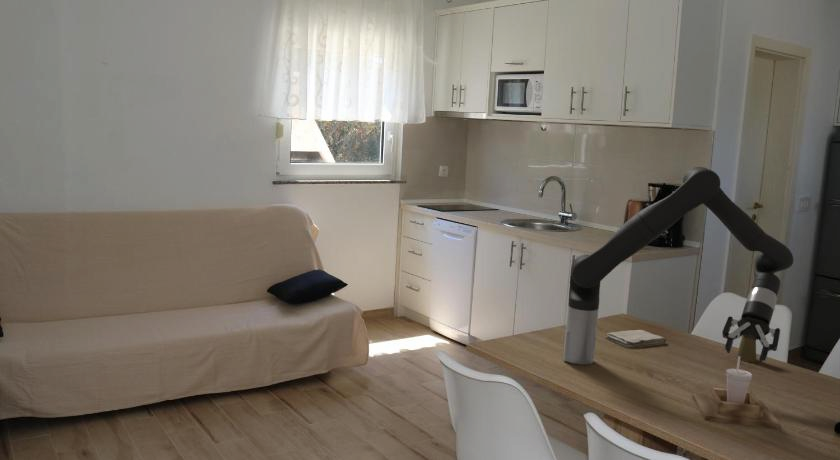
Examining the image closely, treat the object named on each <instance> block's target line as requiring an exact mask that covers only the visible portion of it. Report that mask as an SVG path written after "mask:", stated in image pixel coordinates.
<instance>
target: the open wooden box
mask: <svg viewBox="0 0 840 460" xmlns="http://www.w3.org/2000/svg"><path fill="white" fill-rule="evenodd" d="M691 396H692V400H693V401H694V403H695V405H696V407H697V408H698V410H699V412H700V414H701V416H702V418H703V419H704V421H709V422H717V423H718V422H719V423H726V424H734V425H735V424H736V425H742V426H743V425H744V426H752V427H753V426H754V427H761V428H771V429H777V430H778V429H780V427H781V424H780V422H779V421H778V419H776V417H775V416H774V415H773V413H772V412H771V411H770V409H769V408H768V407H767V406H766V405H765V403H764V402H763V401H762V400H759V399H758V397H756V395H755V394H754V393H753V392H752V391H748V390H747V393H746V397H745V401H744V404H740V403H731V402H727V388H720V387H719V388H718V387H708V394H704V393H695V392H692V395H691Z"/></svg>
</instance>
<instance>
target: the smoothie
mask: <svg viewBox="0 0 840 460" xmlns="http://www.w3.org/2000/svg"><path fill="white" fill-rule="evenodd" d="M740 363H741V360H740V356H738V359H737V363H736V368H728V369H726V370H725V375H726V389H727V402H731V403H740V404H744V401H745V397H746V393H747V391H748V389H749V386H750V383H751V380H752V379H753V374H752V373H751V372H750V371H747V370H744V369H740Z"/></svg>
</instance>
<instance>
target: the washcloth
mask: <svg viewBox="0 0 840 460" xmlns="http://www.w3.org/2000/svg"><path fill="white" fill-rule="evenodd" d="M606 336H607V337H605V339H606V338H607V339H606V340H608V341H610V342H612V343H614V344H617V345H619V346H621V347H624V348H626V349H627V348H629V349H630V348H631V349H633V348H640V347H641V348H642V347H643V348H644V347H650V346H658V345H665V344H666V343H667V339H666V338H665V337H663V336H661V335H658V334H653V333H651V332H648V331H646V330H643V329H636V330H635V329H634V330H633V329H630V330H621V331H613V332H612V331H611V332H607V333H606Z"/></svg>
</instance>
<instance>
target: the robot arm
mask: <svg viewBox="0 0 840 460" xmlns="http://www.w3.org/2000/svg"><path fill="white" fill-rule="evenodd" d="M702 204H703V205H704V206H705V207H706V208H707V209H708V210H709V211H711V212H712V214H714V215H715V217H717V219H718V220H719V221H720V222H721V223H722V224H723V225H724V227H725V228H726V229H727V230H728V231H729V232H730V233H731V235H732V236H733V237H735V239H736V240H737V241H738V242H739V243H740V244H741V245H742V246H743V247H744V248H745V249H746V250H747V251H748V252H749V251H750V252H759V253H758V254H757V255H756V257H755V258H754V261H753V277H754V279H753V283H752V285H751V288H750V291H749V293H748V295H747V298H746V300H745V303H744V307H743V310H742V314H741V316H740V318H739V319H735V318H733V316H732V315H731V316H728V317H727V320H726V322H725V324H724V327H723V329H722V330H721V331H722V338H723V339H726V343H725V344H724V345H725V347H724V348H725V351H726V353H728V354H730V353H731V350H732V347H733V343H734V341H735V340H737V339H740V338H742V336H744V337H745V338H751V339H753V340H756V341H758V340H759V343H760V344H761V346H762V349H761V351H760V356H759V361H758V362H761V363H762V362H765V361H766V360H767V357H768V353H769V351H773V352H776V351H777V350H778V345H779V341H780V336H781V329H780V328H779V327H776V328H770V325H771V321H772V318H773V315H774V311H776V309H775V307H776V305H777V298H778V295H779V290H780V287H781V280H780V278H779V276H777V275H776V273H778V272H780V271H785V270H788V269H790V268H791V267H792V266H793V264H794V256H793V253H792V252H791V250H790V249H789V248H788V247H787V246H786V245H785V244H784V243H782V242H781V241H779V240H778V239H776V238H775V237H773V236H771V235H769V234H768V233H766V232H765V231H764V230H763V228H761V227H760V225H758V223H757V222H756V221H755V220H754V219H753V218H752V217H750V215H748V214H747V213H746V212H745V211H744V210H743V209H741V207H740V206H738V205H737V204H736V203H735V202H734V201H733V200H731V198H730V197H729V196H728V195H727V194H726V193H725V192H724V191H723V189H722V188H721V179H720V176H719V175H718V174H717V172H715V171H713V170H712V169H709V168H707V167H703V166H697V167H696V166H694V167H693V168H690V169H689V170H687V171H686V172H685V174H684V176H683V179H682V184H681V185H680V186H679V187H678V188H676V189H675V191H673V192H672V193H670V194H669V195H667V196H666V197H664V198H662V199H660V200H658V201H657V202H654V203H652V204H650V205H648V206H646V207H645V208H643V209H641V210H640V211H638V212H637V213H636V214H634V215H633V216H631V218H630V219H628V220H627V221H626V222H625V223H624V224H623V225H621V226H620V227H619V229H618V230H616V232H615V233H614V234H613V235H611V238H610V239H608V241H607V242H605V243H604V244H603V246H600V248H598V249H597V250H595V251H593V252H592V253H590V254H582V255H579V256H577V257H576V258H575V259H574V260H573V262H572V264H571V267H570V279H569V289H568V302H567V303H568V304H567V317H566V326H565V333H564V343H563V345H564V346H563V355H562V356H563V362H566V361H567V363H570V364H574V365H581V366H582V365H586V366H587V365H591V364H594V361H595V360H594V358H595V349H596V341H597V340H596V338H597V328H598V319H599V307H600V293H601V282H602V281H603V280H604V279H605V278H606V277H607V276H608V275H609V274H610V273H611V272H612V271H613V270H615V269H616V268H617V267H618V266H619V265H620V264H622V263H623V262H625V261H626V260H628V259H629V258H630V257H632V256H633V255H635V254H636V253H638V252H640V251H641V250H642V249H644V248H645V247H647V246H648V245H650V244H651V243H652V242H654V241H655V240H656V239H657V238H659V237H660V236H662V234H663V233H665V232H666V231H667V230H668V229H669V228H671V227H672V226H674V224H676V223H677V222H678V221H680V219H681V218H682V217H684V216H685V215H686V214H688V213H690V212H691V211H692V210H694V209H696V208H697V207H699V206H702ZM735 325H737V327H738V328H736V329H734V331H731V328H732V327H735ZM730 331H731V333H730ZM768 334H770V335H771V337H772V338H773V339H772V343H769V341H768V340H767V337H766V336H767V335H768Z"/></svg>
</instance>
